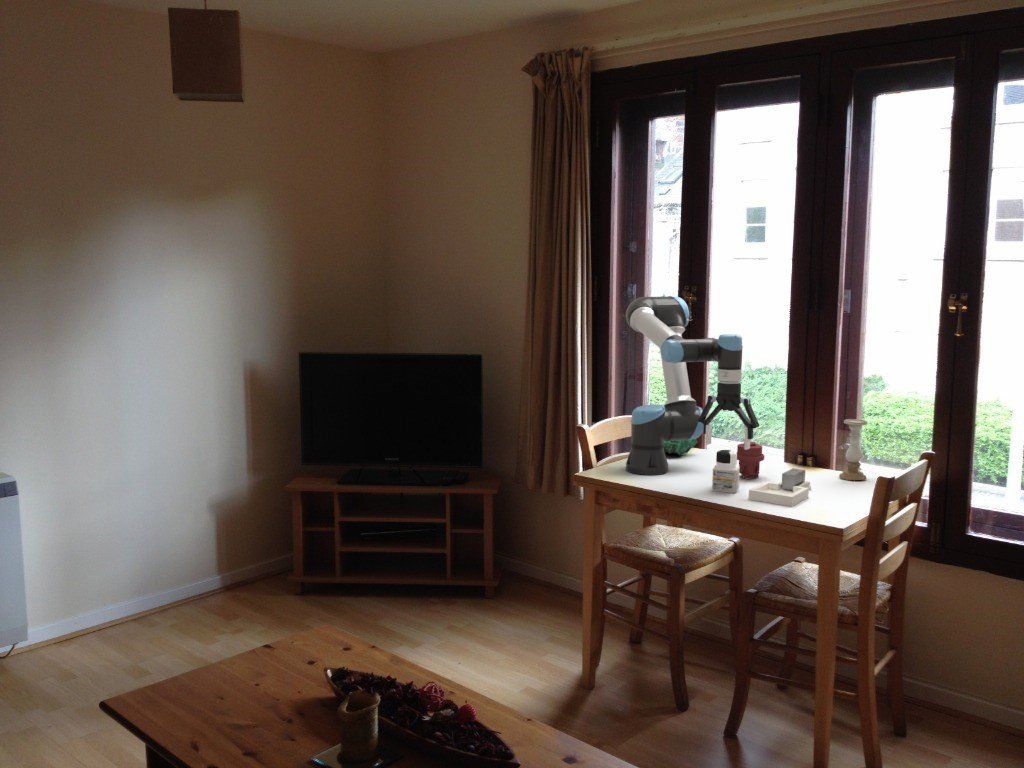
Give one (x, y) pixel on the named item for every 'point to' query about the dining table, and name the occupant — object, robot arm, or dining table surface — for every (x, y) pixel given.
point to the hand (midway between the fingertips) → (727, 446)
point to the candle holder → (853, 451)
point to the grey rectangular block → (793, 478)
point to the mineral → (679, 446)
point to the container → (726, 472)
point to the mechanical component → (749, 460)
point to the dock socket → (779, 493)
